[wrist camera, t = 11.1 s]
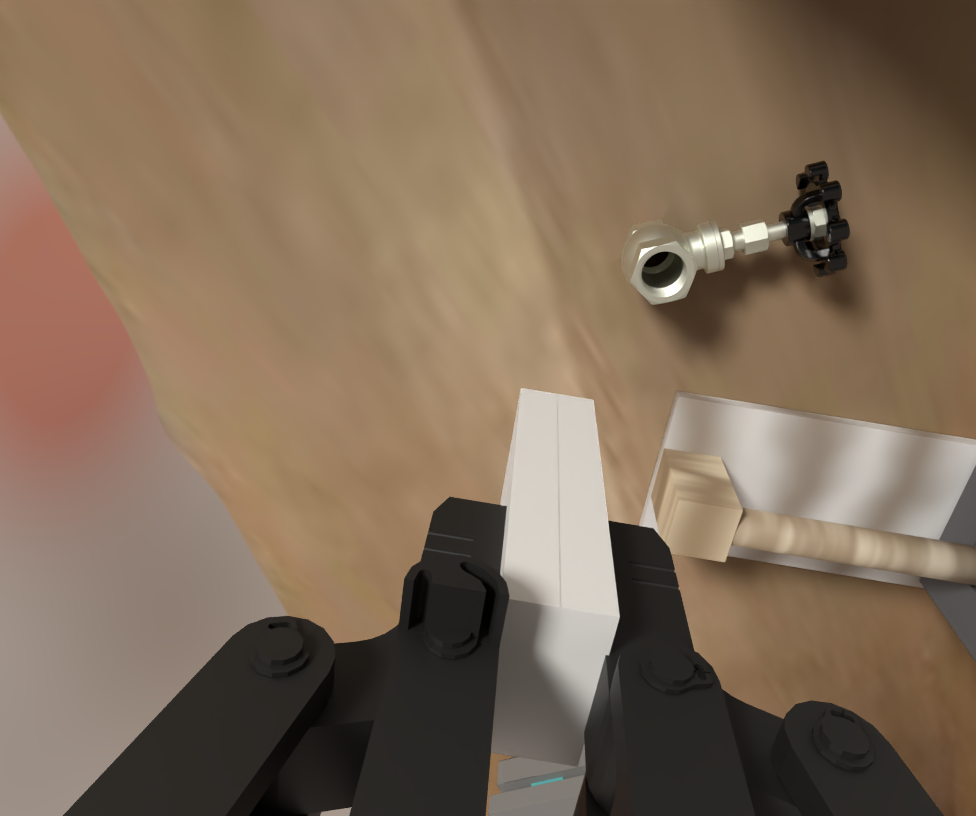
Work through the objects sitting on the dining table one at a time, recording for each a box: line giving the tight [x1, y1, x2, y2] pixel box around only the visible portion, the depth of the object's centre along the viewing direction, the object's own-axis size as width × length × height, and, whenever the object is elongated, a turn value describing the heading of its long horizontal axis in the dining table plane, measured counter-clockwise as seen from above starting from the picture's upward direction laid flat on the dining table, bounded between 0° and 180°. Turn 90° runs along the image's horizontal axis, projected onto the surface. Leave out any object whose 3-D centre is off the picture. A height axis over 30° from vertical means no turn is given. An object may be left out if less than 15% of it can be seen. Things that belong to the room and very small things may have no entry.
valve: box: [621, 161, 850, 305], centre depth 44 cm, size 7×7×12 cm
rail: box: [639, 391, 976, 588], centre depth 51 cm, size 32×12×8 cm, turn 82°
